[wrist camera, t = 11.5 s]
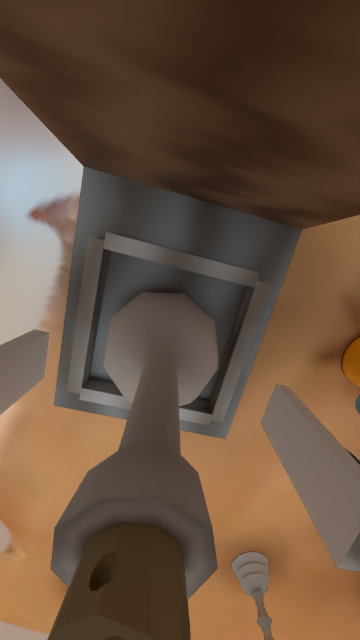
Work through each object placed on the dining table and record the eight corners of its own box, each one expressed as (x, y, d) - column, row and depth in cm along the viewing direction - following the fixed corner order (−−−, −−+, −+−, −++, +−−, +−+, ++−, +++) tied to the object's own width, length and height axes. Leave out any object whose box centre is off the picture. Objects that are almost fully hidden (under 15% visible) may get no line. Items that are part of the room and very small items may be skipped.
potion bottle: (148, 390, 22) (41, 916, 4) (98, 313, 20) (-517, 728, 2) (228, 351, 21) (505, 809, 3) (185, 266, 19) (331, 323, 1)
